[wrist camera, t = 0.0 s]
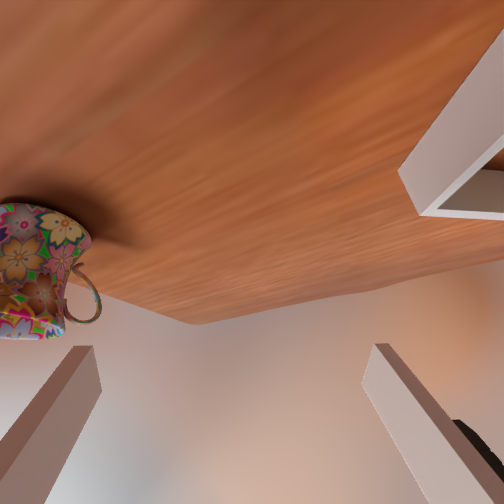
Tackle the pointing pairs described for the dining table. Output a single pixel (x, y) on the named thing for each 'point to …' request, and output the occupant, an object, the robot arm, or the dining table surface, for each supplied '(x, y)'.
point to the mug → (38, 270)
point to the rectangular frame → (463, 148)
